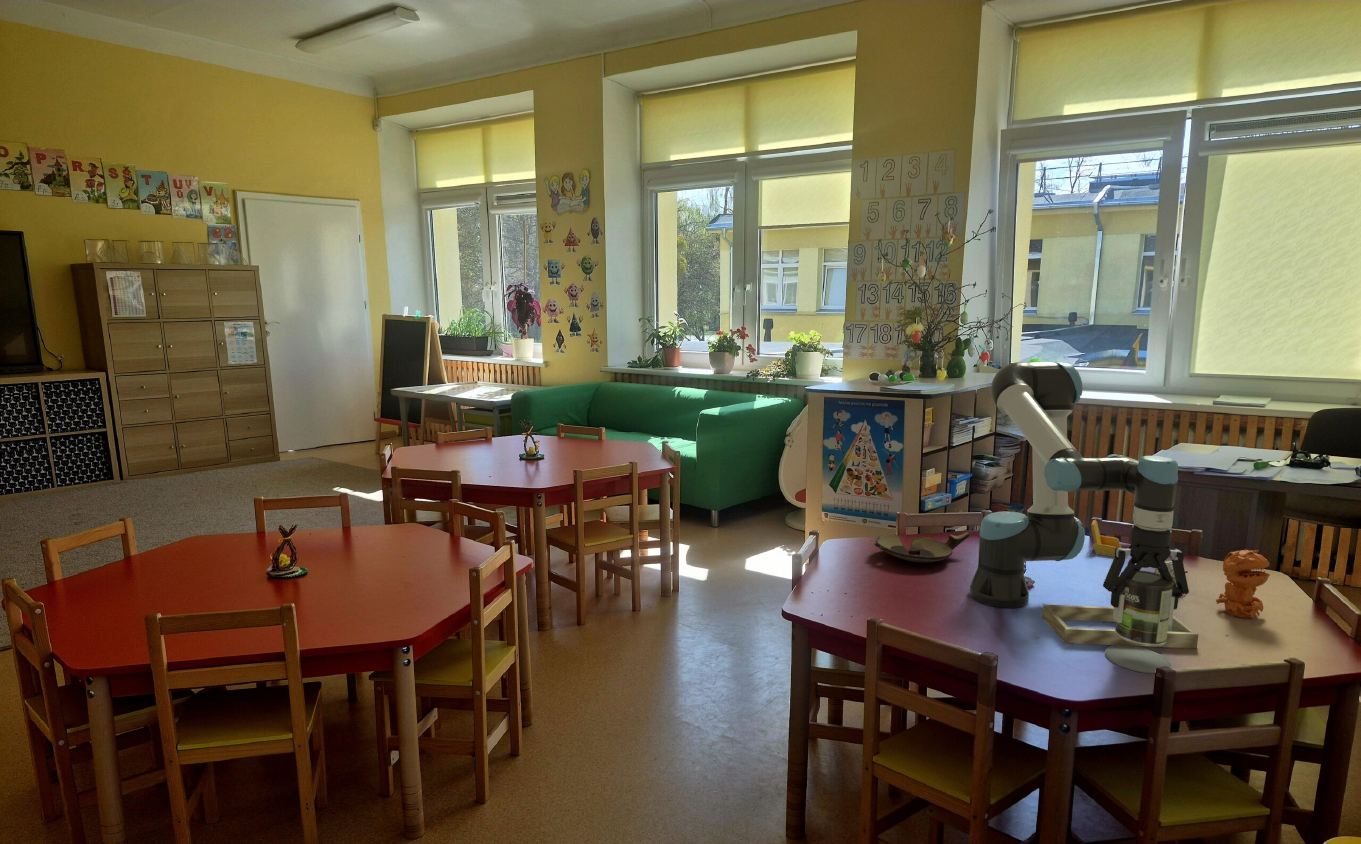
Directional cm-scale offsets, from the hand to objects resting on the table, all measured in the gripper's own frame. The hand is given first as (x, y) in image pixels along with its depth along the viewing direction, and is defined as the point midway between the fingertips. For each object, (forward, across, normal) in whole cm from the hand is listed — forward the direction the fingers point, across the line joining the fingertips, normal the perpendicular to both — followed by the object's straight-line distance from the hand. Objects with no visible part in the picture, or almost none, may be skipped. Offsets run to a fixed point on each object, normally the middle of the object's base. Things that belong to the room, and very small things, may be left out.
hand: (1141, 621), depth 176 cm
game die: (+9, +31, +48) cm, 58 cm away
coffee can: (+4, 0, 0) cm, 4 cm away
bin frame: (+9, +2, +15) cm, 18 cm away
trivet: (+9, 0, 0) cm, 9 cm away
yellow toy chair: (+9, +28, +80) cm, 85 cm away
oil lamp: (+9, -34, +65) cm, 74 cm away
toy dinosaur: (+10, +40, +30) cm, 51 cm away
